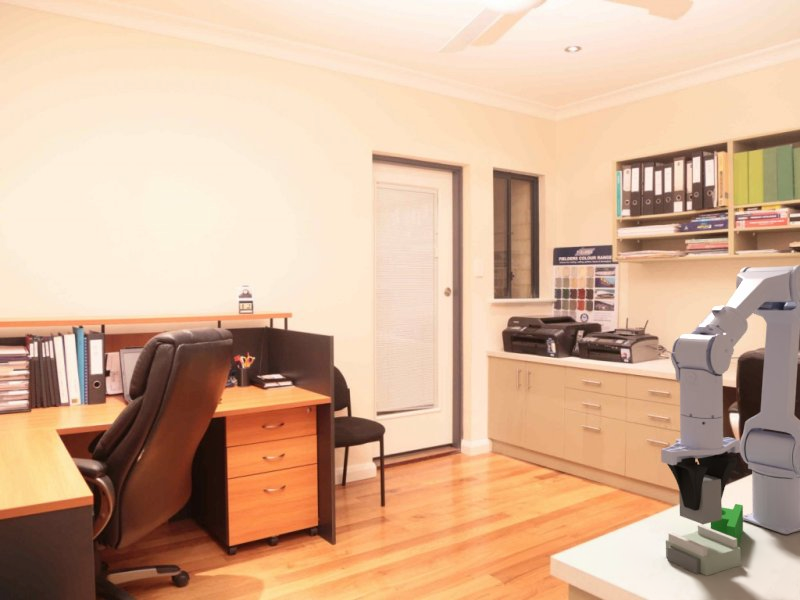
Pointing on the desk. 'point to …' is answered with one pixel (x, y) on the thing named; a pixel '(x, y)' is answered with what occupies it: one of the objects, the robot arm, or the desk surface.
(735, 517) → the pipe clamp
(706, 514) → the dark grey block
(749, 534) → the desk surface
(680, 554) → the pale grey-green blocky piece
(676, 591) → the desk surface
